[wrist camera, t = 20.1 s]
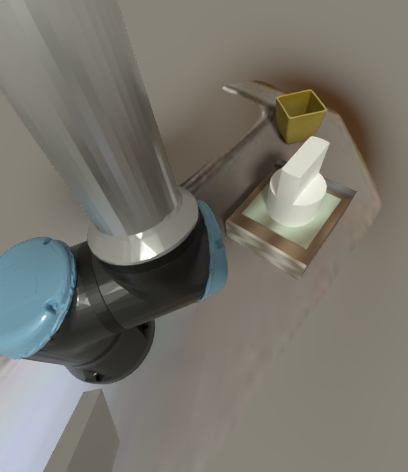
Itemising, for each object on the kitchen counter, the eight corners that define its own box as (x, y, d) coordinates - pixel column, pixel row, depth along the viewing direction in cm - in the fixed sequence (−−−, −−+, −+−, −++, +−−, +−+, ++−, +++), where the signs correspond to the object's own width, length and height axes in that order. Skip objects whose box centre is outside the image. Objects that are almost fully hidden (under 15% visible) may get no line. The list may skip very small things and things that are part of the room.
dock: (226, 235, 52) (225, 218, 47) (275, 179, 58) (279, 158, 53) (298, 280, 45) (306, 265, 40) (345, 211, 52) (356, 191, 47)
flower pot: (317, 144, 63) (328, 109, 55) (282, 151, 63) (289, 118, 55) (303, 123, 67) (311, 88, 60) (271, 130, 67) (275, 96, 60)
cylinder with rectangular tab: (301, 235, 44) (320, 188, 34) (256, 211, 48) (262, 162, 37) (325, 202, 47) (350, 149, 37) (282, 181, 51) (294, 128, 41)
